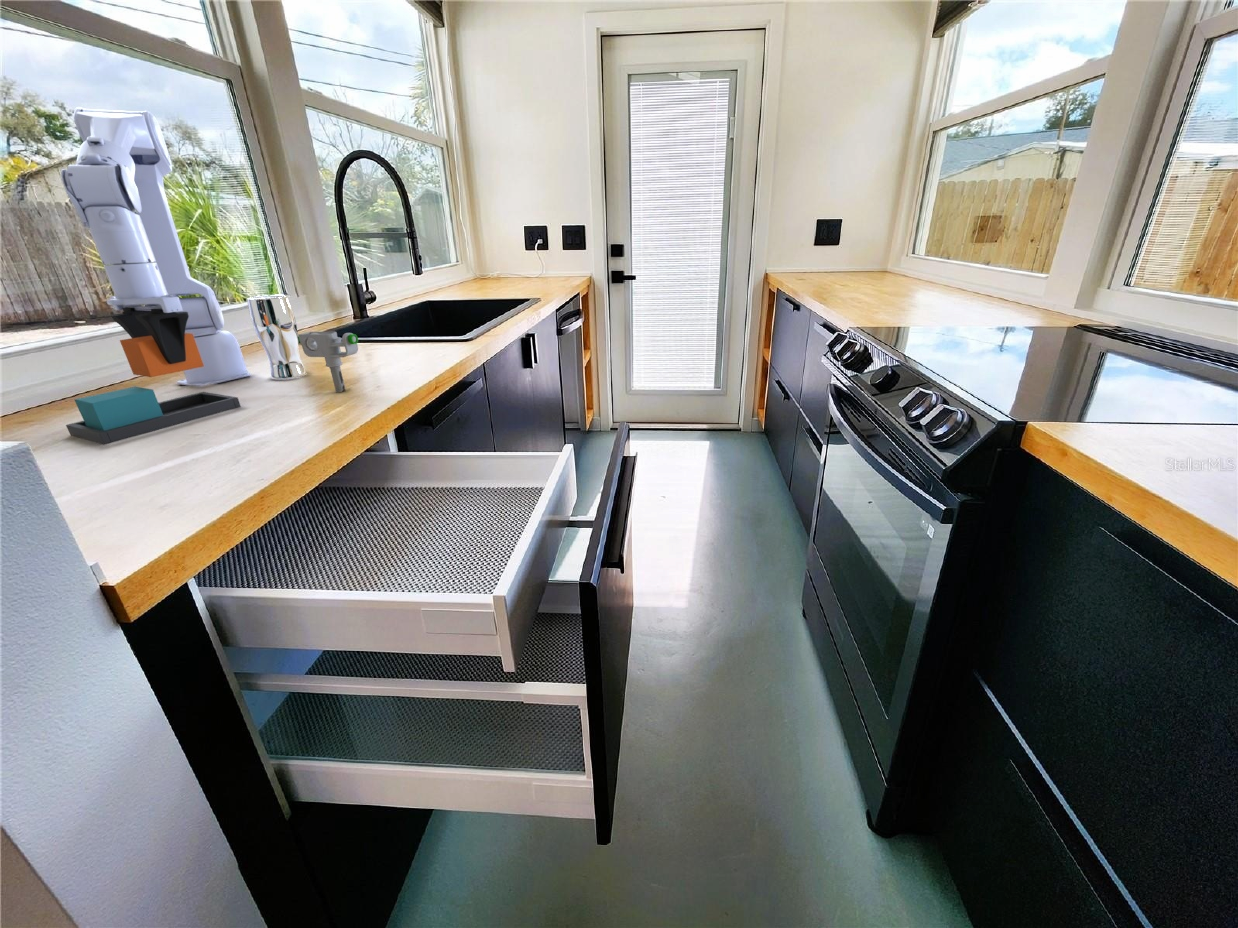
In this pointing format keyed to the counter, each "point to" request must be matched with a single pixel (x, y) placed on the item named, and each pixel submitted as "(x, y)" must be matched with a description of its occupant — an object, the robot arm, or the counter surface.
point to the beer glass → (277, 335)
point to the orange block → (158, 356)
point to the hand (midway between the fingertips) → (167, 361)
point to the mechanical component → (330, 351)
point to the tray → (160, 417)
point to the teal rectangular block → (118, 408)
